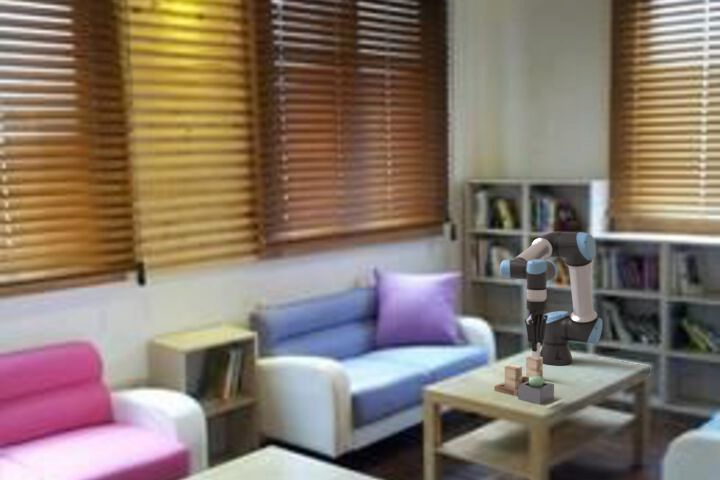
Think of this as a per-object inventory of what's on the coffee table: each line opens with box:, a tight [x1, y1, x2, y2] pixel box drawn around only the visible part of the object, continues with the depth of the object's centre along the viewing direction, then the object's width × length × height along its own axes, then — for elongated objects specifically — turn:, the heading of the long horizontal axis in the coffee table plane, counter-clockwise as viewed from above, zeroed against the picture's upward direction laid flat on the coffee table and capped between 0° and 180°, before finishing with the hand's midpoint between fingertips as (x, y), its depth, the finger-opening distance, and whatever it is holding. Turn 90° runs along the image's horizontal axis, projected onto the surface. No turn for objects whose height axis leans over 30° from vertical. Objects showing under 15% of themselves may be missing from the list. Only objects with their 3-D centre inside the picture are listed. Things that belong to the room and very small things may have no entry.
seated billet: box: [504, 364, 523, 390], centre depth 338 cm, size 5×5×10 cm
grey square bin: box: [517, 381, 555, 406], centre depth 326 cm, size 10×10×7 cm
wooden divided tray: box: [493, 375, 545, 397], centre depth 341 cm, size 20×11×3 cm, turn 135°
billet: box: [525, 355, 544, 378], centre depth 356 cm, size 5×5×10 cm
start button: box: [529, 376, 544, 387], centre depth 326 cm, size 6×6×3 cm
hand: (536, 358), depth 325 cm, fingers closed
